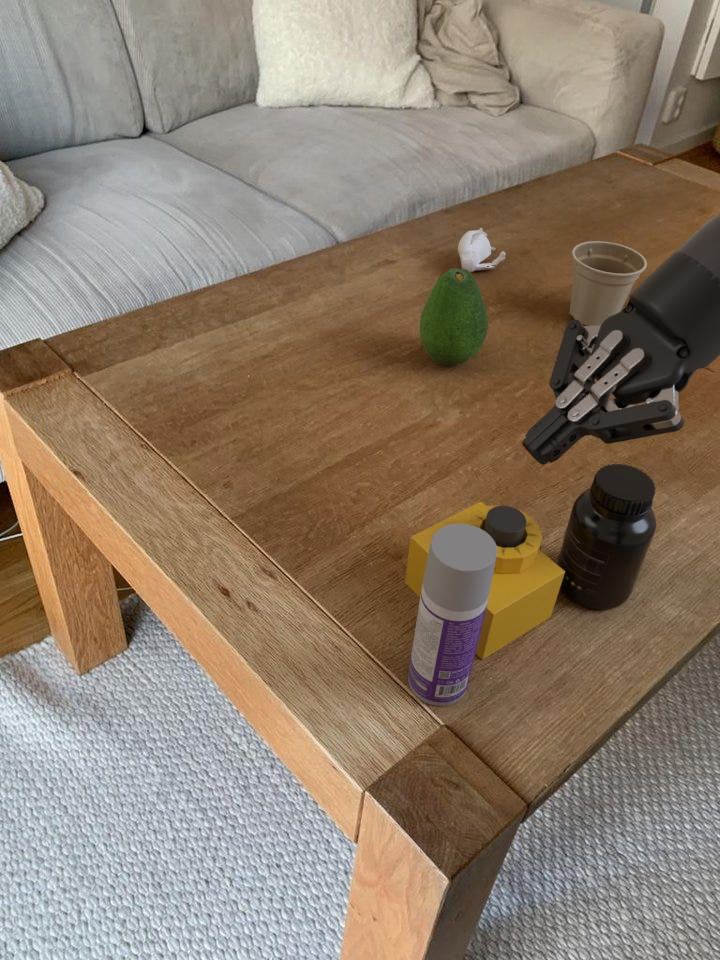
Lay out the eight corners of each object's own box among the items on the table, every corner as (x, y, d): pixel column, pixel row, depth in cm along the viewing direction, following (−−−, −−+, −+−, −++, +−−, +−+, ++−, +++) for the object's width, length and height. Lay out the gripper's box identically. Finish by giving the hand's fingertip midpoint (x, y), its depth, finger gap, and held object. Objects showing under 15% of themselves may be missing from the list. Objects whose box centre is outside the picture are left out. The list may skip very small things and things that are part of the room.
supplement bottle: (584, 544, 76) (617, 444, 69) (645, 588, 73) (688, 487, 65) (536, 578, 73) (565, 476, 65) (598, 625, 69) (637, 523, 61)
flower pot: (623, 303, 113) (640, 244, 107) (634, 338, 106) (653, 277, 100) (555, 296, 113) (568, 237, 108) (561, 331, 106) (576, 270, 100)
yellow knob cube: (555, 614, 70) (575, 553, 65) (482, 660, 66) (497, 598, 61) (476, 544, 76) (488, 483, 71) (404, 582, 72) (412, 520, 67)
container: (472, 664, 65) (504, 530, 56) (461, 713, 62) (493, 579, 52) (415, 650, 66) (436, 515, 56) (401, 697, 63) (422, 562, 53)
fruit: (494, 361, 100) (511, 270, 92) (457, 388, 95) (472, 294, 87) (440, 337, 103) (452, 247, 96) (402, 361, 99) (412, 269, 91)
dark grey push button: (530, 538, 66) (534, 522, 65) (502, 553, 65) (506, 538, 64) (503, 515, 68) (506, 500, 67) (475, 530, 67) (478, 514, 66)
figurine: (519, 244, 121) (500, 276, 113) (481, 259, 125) (460, 291, 116) (503, 207, 119) (483, 237, 110) (465, 223, 122) (442, 253, 114)
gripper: (638, 216, 60) (465, 384, 64) (767, 301, 50) (555, 491, 55) (675, 274, 65) (512, 426, 69) (798, 361, 56) (602, 530, 60)
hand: (532, 454), depth 62 cm, fingers closed
